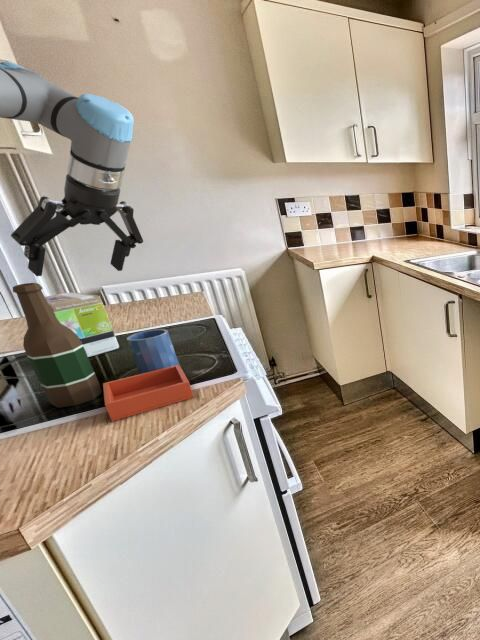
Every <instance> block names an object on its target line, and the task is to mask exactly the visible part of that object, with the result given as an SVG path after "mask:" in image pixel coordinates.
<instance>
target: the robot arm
mask: <svg viewBox="0 0 480 640" xmlns="http://www.w3.org/2000/svg"><path fill="white" fill-rule="evenodd" d="M1 118H2V119H8V120H17V121H24V122H30V123H35V124H38V125H41V126H42V127H44V128H46V129H49V130H50V131H52V132H54V133H56V134H58V135H59V136H61V137H63V138H66V139H68V140H70V150H69V157H68V161H67V162H68V163H67V168H66V172H67V174H66V176H65V181H64V187H63V191H64V197H63V198H62V199H61V200H55V199H50V197H48V196H45V195H44V196H43V195H42V196H41V197H40V198H39V201H38V204H37V207H36V208H35V209H34V210H33V211H32V212H31V213H30V214H29V215H28V216H27V217H26V218H25V219H24V220H23V221H22V222H21V223H20V224H19V225H18V226H17V227H16V229H14V231H13V232H12V233H11V234H10V237H11V238H12V239H13V240H14V241H15V242H16V243H17V244H18V245H20V246H22V247H24V251H23V255H24V257H25V258H26V259H27V260H28V263H27V264H28V265H27V269H28V270H29V271H30V272H32V274H33V275H35V276H36V277H42V276H43V269H44V264H45V255H46V249H47V248H45V247H44V245H45V244H47V243H48V242H49V241H51V240H53V239H55V238H56V237H57V236H58V235H60V234H61V233H63V232H65V231H66V230H67V229H68V228H69V229H70V228H75V227H76V226H77V225H79V224H80V225H85V226H86V225H94V226H101V224H103V223H104V224H105V225H106V226H107V227H108V228H109V229H110V230H111V231H112V232H113V233H114V234H115V235H116V236H117V237H118V238H119V239H115V241H114V246H113V250H112V254H111V259H110V263H109V264H110V265H111V266H112V267H114V269H115V270H117V272H121V271H123V268H124V265H125V259H126V258H128V257H129V256H130V253H131V250H132V249H135V248H137V247H136V246H137V244H140V245H141V244H143V243H144V239H143V236H142V235H141V232H140V230H139V227H138V225H137V223H136V220H135V218H134V208H133V207H132V206H131V205H129V204H128V203H127V202H126V201H124V200H122V201H119V199H120V194H121V187H122V185H123V178H124V174H125V169H126V163H127V160H128V159H127V158H128V154H129V150H130V146H131V143H132V141H133V137H134V135H133V131H134V123H135V118H134V116H133V115H132V113H131V112H130V111H129V110H128V109H127V108H126V107H124V106H123V105H121V104H119V103H117V102H116V101H112V100H109V99H108V98H106V97H103V96H101V95H97V94H92V93H83V94H80V95H79V96H76V95H74V94H72V93H70V92H69V91H67V90H65V89H64V88H62V87H60V86H58V85H56V84H55V83H53V82H51V81H49V80H47V79H46V78H44V77H43V76H41V75H40V74H38V73H37V72H34V71H33V70H30V69H27V68H25V67H23V66H21V65H19V64H17V63H14V62H11V61H1V62H0V119H1ZM116 213H119V215H120V217H121V219H122V221H123V223H124V226H125V228H126V230H127V233H128V234H129V235H127V234H126V233H125V232H124V231H123V230H122V229H121V228H120V227H119V226H118V225H117V223H116V222H115V221H114V220H113V219H112V218H111V217H113V216H114V215H115V214H116ZM68 217H69V218H68Z"/></svg>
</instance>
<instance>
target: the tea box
mask: <svg viewBox="0 0 480 640" xmlns="http://www.w3.org/2000/svg"><path fill="white" fill-rule="evenodd" d="M45 298H46V300H47V302H48V304H49V306H50V308H51V309H52V311H53V313H54V315H55V317H56V318H57V319H58V321H59V322H60V323H61V324H63V325H64V326H66V327H68V328H69V329H71V330H72V331H73V332H74V333H75V334H76V335H77V336H78V337H79V339H80V341H81V343H82V344H83V347H84V349H85V351H86V354H87V356H88V358H91V357H93V356H98V355H101V354H105V353H109V352H111V351H114V350H118V349H119V348H120V345H119V342H118V339H117V337H116V335H115V332H114V329H113V326H112V324H111V321H110V318H109V315H108V313H107V311H106V309H105V305H104V303H103V300H102V298H101V296H100V295H97V294H90V293H83V292H82V293H81V292H74V291H70V292H65V293H58V294H52V295H47V296H45Z"/></svg>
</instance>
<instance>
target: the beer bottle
mask: <svg viewBox="0 0 480 640" xmlns="http://www.w3.org/2000/svg"><path fill="white" fill-rule="evenodd" d="M42 290H43V286H42V285H41V284H40V283H37V282H26V283H20V284H17V285H14V286H12V292H13V293H15V294H16V295H17V298H18V301H19V304H20V307H21V310H22V312H23V315H24V318H25V320H26V325H27V330H26V331H25V334H24V336H23V343H22V344H23V349H24V352H25V356H26V357H27V359H28V361H29V363H30V365H31V367H32V369H33V371H34V373H35V376H36V378H37V379H38V382H39V384H40V386H41V388H42V390H43V393H44V394H45V397H46V398H47V399H48V402H49V403H50V404H51V405H52V406H55V407H56V408H58V409H61V408H67V407H68V408H69V407H75V406H76V407H77V406H79V405H81V404H84V403H87V402H90V401H92V400H95V399H96V398H97V397H99V396H100V395H101V394H102V388H101V385H100V382H99V380H98V378H97V375H96V372H95V371H94V368H93V366H92V364H91V361H90V357H88V356H87V354H86V351H85V349H84V347H83V344H82V343H81V341H80V339H79V337H78V336H77V335H76V334H75V333H74V332H73V331H72V330H71V329H69V328H68V327H66V326H64V325H63V324H61V323H60V322H59V321H58V319H57V318H56V317H55V315H54V313H53V311H52V309H51V308H50V306H49V304H48V302H47V300H46V298H45V297H46V296H45V295H44V293H43V291H42Z"/></svg>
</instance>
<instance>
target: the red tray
mask: <svg viewBox="0 0 480 640" xmlns="http://www.w3.org/2000/svg"><path fill="white" fill-rule="evenodd" d="M102 387H103V388H102V389H103V400H104V406H105V409H106V411H107V414H108V416H109V419H110V420H111V422H114V421H117V420H122V419H124V418H128V417H132V416H134V415H138V414H143V413H146V412H148V411H149V412H150V411H152V410H155V409H159V408H162V407H165V406H169V405H172V404H176V403H179V402H182V401H185V400H190V399H192V398H195V396H194V393H193V390H192V387H191V384H190V381H189V379H188V378H187V376H186V374H185V372H184V370H183V369H182V367H181V365H180V364H179V365H175V366H171V367H167V368H163V369H159V370H155V371H151V372H147V373H143V374H140V373H139V374H135V375H131V376H126V377H123V378H119V379H116V380H111V381H107V382H103V383H102Z"/></svg>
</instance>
